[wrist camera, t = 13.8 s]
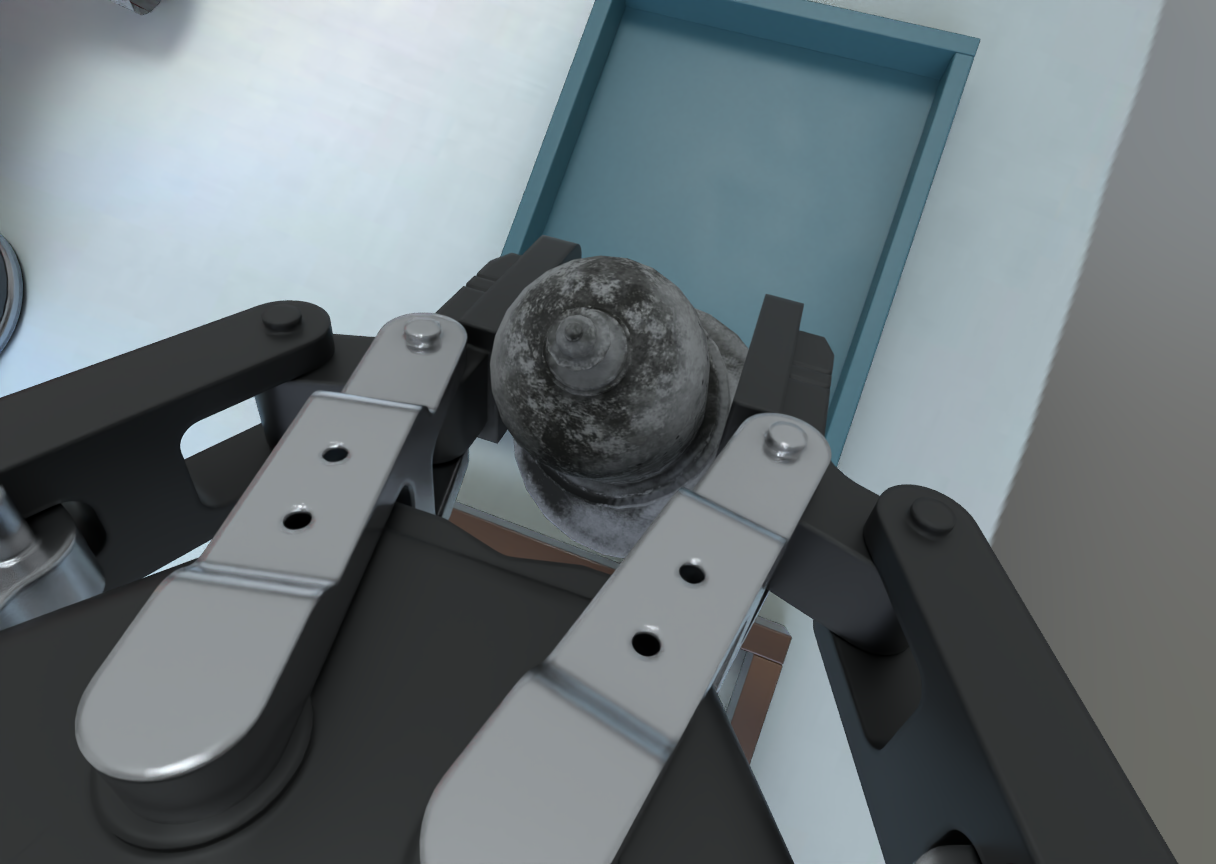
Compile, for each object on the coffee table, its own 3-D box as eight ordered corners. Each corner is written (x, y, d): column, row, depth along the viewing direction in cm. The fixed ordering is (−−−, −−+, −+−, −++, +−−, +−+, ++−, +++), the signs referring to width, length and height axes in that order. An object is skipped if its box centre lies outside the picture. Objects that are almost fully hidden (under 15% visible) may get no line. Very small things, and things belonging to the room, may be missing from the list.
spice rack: (650, 1027, 29) (646, 1075, 26) (292, 849, 32) (257, 878, 29) (785, 625, 30) (792, 636, 27) (425, 489, 33) (402, 488, 30)
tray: (807, 526, 30) (816, 528, 28) (467, 406, 33) (447, 398, 30) (958, 76, 31) (981, 38, 29) (618, -3, 34) (610, -44, 31)
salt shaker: (803, 404, 18) (993, 217, 6) (688, 593, 18) (669, 754, 6) (617, 298, 19) (488, -32, 7) (507, 477, 19) (197, 429, 7)
